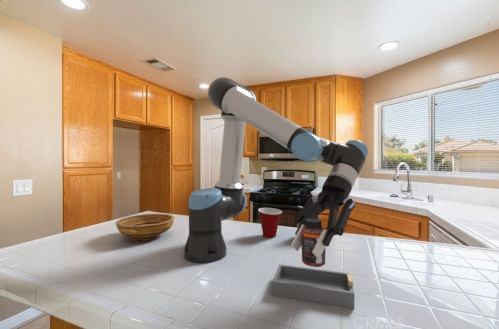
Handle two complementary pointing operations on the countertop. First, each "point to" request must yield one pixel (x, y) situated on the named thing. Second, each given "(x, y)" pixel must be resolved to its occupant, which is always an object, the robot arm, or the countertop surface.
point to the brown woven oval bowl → (145, 225)
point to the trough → (314, 285)
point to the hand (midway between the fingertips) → (304, 251)
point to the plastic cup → (269, 221)
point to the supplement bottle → (311, 242)
